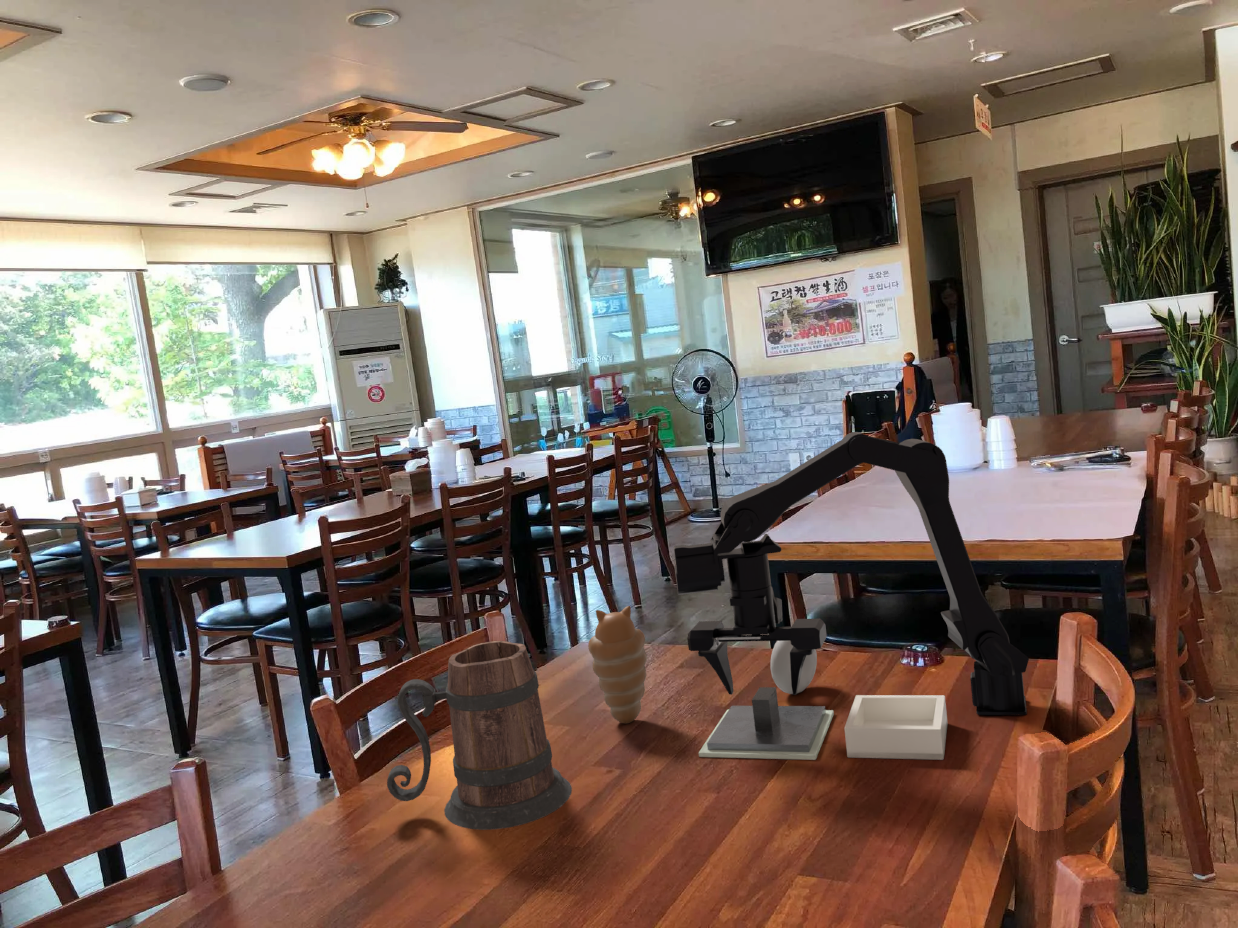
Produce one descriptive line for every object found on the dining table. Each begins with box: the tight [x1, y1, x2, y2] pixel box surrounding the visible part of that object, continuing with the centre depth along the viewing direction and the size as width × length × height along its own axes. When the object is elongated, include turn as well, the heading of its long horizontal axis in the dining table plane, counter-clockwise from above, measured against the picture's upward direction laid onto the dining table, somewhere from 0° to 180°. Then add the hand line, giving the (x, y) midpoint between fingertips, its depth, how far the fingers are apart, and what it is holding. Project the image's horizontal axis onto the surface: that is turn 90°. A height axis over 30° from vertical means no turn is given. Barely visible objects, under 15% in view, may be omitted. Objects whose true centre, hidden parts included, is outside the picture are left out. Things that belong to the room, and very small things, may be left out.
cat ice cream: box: [587, 605, 648, 724], centre depth 151 cm, size 9×8×18 cm
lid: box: [707, 686, 826, 752], centre depth 140 cm, size 14×14×6 cm
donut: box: [770, 641, 818, 695], centre depth 155 cm, size 10×3×10 cm, turn 135°
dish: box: [844, 694, 949, 761], centre depth 133 cm, size 12×12×4 cm
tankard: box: [386, 640, 573, 831], centre depth 129 cm, size 24×17×20 cm
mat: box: [698, 708, 835, 761], centre depth 140 cm, size 16×16×1 cm
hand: (763, 693), depth 140 cm, fingers open, 9 cm apart
